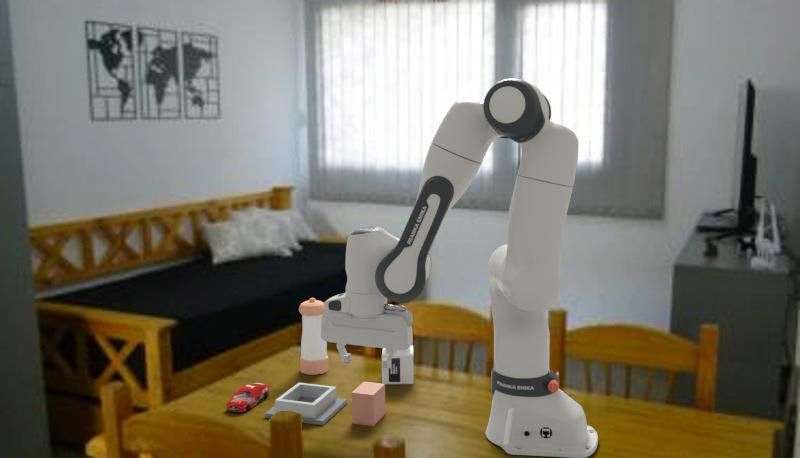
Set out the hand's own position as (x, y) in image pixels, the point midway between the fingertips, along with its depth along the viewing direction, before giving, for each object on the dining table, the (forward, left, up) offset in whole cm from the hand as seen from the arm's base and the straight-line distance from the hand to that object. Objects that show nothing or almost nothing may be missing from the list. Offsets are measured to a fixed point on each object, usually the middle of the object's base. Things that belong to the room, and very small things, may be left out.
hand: (366, 364), depth 165 cm
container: (+2, -25, -12) cm, 28 cm away
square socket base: (+15, 0, -12) cm, 19 cm away
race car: (+29, 0, -13) cm, 32 cm away
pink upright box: (0, 0, -12) cm, 12 cm away
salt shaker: (+25, -25, -12) cm, 37 cm away
